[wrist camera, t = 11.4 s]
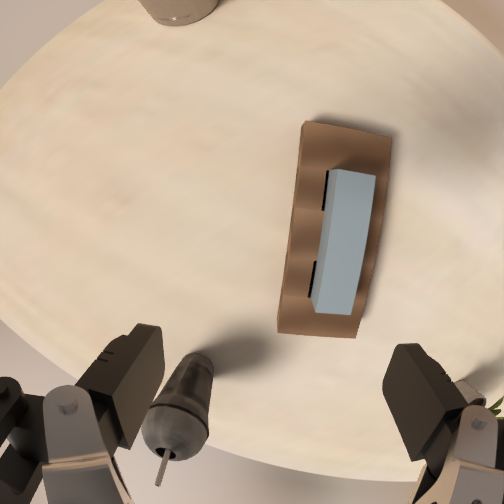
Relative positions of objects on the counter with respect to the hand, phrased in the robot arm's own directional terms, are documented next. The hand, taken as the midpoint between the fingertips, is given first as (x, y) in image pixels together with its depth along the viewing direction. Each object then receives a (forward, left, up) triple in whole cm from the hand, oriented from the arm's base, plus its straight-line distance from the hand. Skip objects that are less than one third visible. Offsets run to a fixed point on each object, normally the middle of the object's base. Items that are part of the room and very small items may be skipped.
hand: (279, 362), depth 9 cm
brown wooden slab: (-1, +6, -24) cm, 24 cm away
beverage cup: (+19, -8, -24) cm, 32 cm away
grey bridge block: (-1, +6, -23) cm, 24 cm away
